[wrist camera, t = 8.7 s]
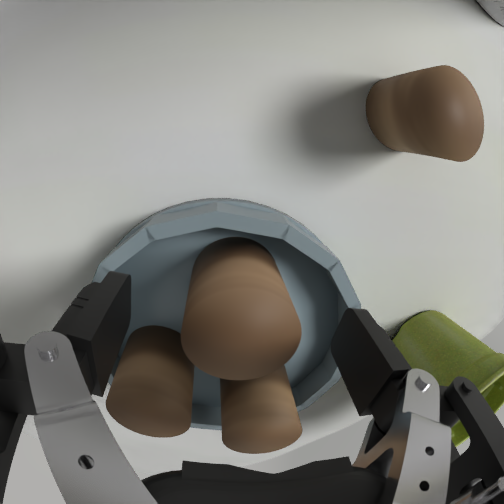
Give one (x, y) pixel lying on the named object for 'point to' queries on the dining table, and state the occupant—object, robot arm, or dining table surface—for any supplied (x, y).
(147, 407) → the seated bead
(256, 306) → the brown rounded dome
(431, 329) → the plant pot
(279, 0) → the dining table surface
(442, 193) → the dining table surface
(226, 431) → the seated bead
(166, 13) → the dining table surface
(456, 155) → the pile bead
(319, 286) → the grey-blue shallow round dish
